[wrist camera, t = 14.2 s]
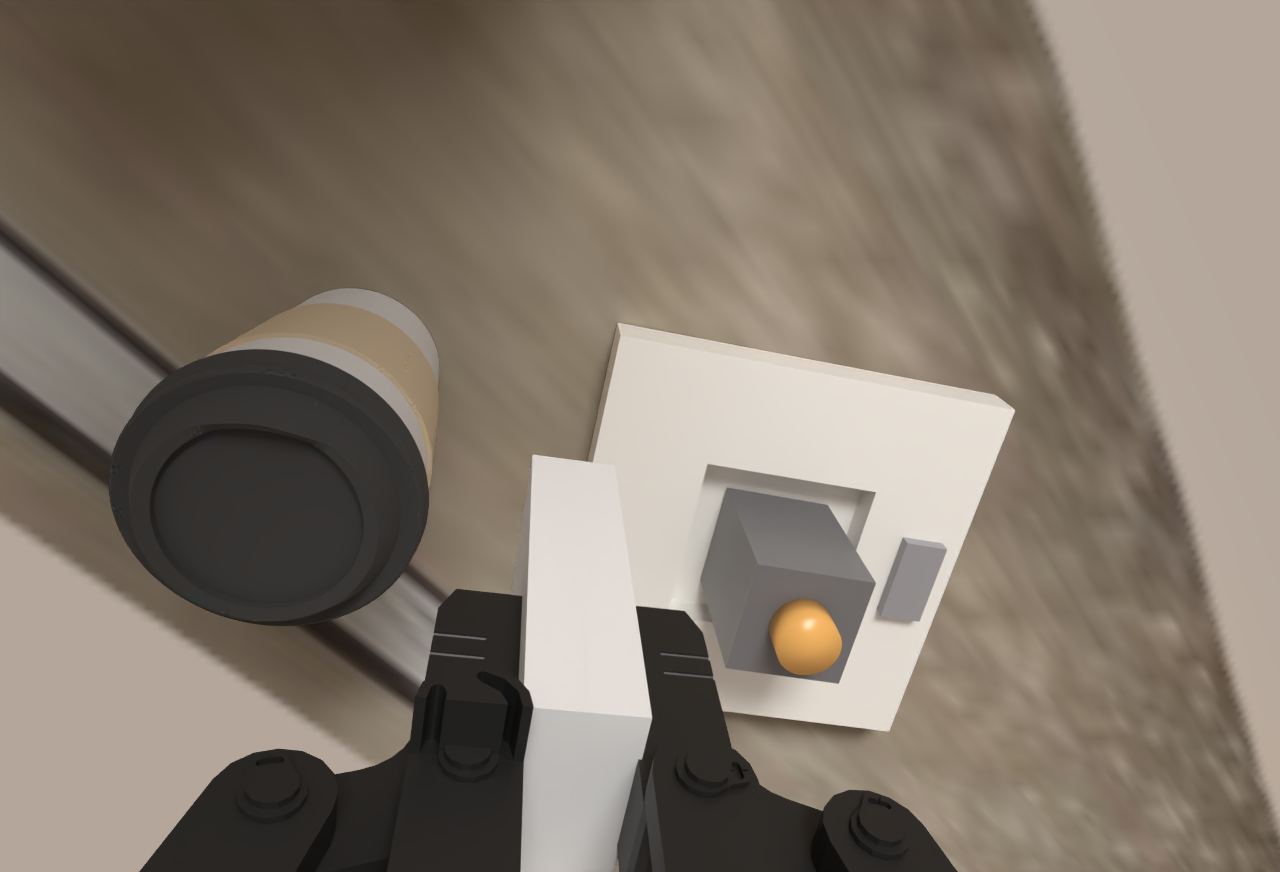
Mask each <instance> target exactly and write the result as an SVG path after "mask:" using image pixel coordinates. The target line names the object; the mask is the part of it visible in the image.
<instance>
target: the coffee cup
mask: <svg viewBox="0 0 1280 872" xmlns="http://www.w3.org/2000/svg"><path fill="white" fill-rule="evenodd" d="M439 372H440V367H439V358H438V353H437V349H436V346H435V344H434V341H433V339H432V337H431V335H430V333H429V332H428V330H427V328H426V327H425V326H424V324H423V323H422V322H421V321H420V319H419V318H418V317H417V316H416V315H415V314H414V313H413V312H411V311H410V310H409V309H408V308H407V307H405V306H404V305H402V304H401V303H399V302H398V301H396V300H394V299H392V298H390V297H388V296H386V295H383V294H380V293H377V292H374V291H370V290H365V289H357V288H343V289H335V290H330V291H326V292H323V293H320V294H317V295H315V296H313V297H311V298H309V299H307V300H306V301H304V302H302V303H301V304H299V305H298V306H296V307H294V308H292V309H289V310H286V311H284V312H282V313H279V314H277V315H276V316H274V317H272V318H270V319H268V320H267V321H265V322H263V323H262V324H260V325H258V326H256V327H255V328H253V329H251V330H249V331H248V332H246V333H244V334H242V335H241V336H239V337H237V338H235V339H234V340H232V341H230V342H229V343H227V344H225V345H223V346H222V347H220V348H218V349H216V350H215V351H213V352H211V353H210V354H208V355H207V356H206V357H204V358H202V359H199V360H197V361H195V362H192V363H190V364H188V365H186V366H184V367H182V368H180V369H178V370H177V371H175V372H174V373H172V374H171V375H169V376H168V377H166V378H165V379H164V380H163V381H161V382H160V383H159V384H158V385H157V386H155V387H154V388H153V389H152V390H151V391H150V392H149V393H148V395H147V396H146V397H145V398H144V399H143V401H142V402H141V403H140V405H139V406H138V407H137V409H136V411H135V412H134V414H133V416H132V417H131V419H130V420H129V422H128V423H127V424H126V426H125V427H124V429H123V431H122V433H121V434H120V436H119V438H118V440H117V443H116V445H115V448H114V451H113V454H112V458H111V463H110V469H109V496H110V502H111V507H112V511H113V514H114V517H115V520H116V523H117V525H118V528H119V530H120V532H121V534H122V536H123V538H124V540H125V541H126V543H127V545H128V546H129V548H130V549H131V551H132V552H133V554H134V555H135V556H136V558H137V559H138V560H139V561H140V563H141V564H142V565H143V566H144V567H145V568H146V569H147V570H148V571H149V572H150V573H151V574H152V575H153V576H154V577H155V578H156V579H157V580H159V581H160V582H161V583H162V584H163V585H165V586H166V587H167V588H169V589H170V590H171V591H173V592H174V593H176V594H177V595H179V596H180V597H182V598H184V599H185V600H187V601H189V602H191V603H193V604H195V605H197V606H199V607H201V608H203V609H205V610H207V611H210V612H212V613H215V614H218V615H221V616H224V617H227V618H230V619H234V620H238V621H242V622H247V623H253V624H260V625H270V626H297V625H307V624H314V623H319V622H324V621H328V620H332V619H335V618H338V617H341V616H344V615H347V614H349V613H351V612H354V611H356V610H358V609H360V608H362V607H363V606H365V605H367V604H369V603H370V602H372V601H373V600H375V599H376V598H378V597H379V596H380V595H382V594H383V593H384V592H385V591H386V590H387V589H388V588H390V587H391V586H392V585H393V584H394V582H395V581H396V580H397V579H398V578H399V577H400V575H401V574H402V573H403V571H404V570H405V569H406V567H407V565H408V564H409V562H410V560H411V558H412V556H413V555H414V553H415V551H416V549H417V547H418V545H419V543H420V541H421V538H422V535H423V533H424V529H425V526H426V521H427V516H428V508H429V486H430V481H431V474H432V466H433V457H434V449H435V441H436V432H437V424H438V415H439V393H438V382H439Z"/></svg>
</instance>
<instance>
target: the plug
mask: <svg viewBox="0 0 1280 872" xmlns="http://www.w3.org/2000/svg"><path fill="white" fill-rule="evenodd" d="M700 580H701V584H702V587H703V591H704V594H705V598H706V601H707V605H708V608H709V612H710V615H711V619H712V622H713V626H714V629H715V633H716V636H717V640H718V643H719V647H720V650H721V654H722V657H723V661H724V664H725V668H727V669H735V670H742V671H749V672H756V673H764V674H771V675H778V676H785V677H793V678H800V679H807V680H814V681H822V682H829V683H836V684H839V682H840V679H841V677H842V674H843V671H844V668H845V666H846V663H847V660H848V658H849V655H850V652H851V650H852V647H853V644H854V641H855V639H856V636H857V633H858V631H859V628H860V625H861V622H862V620H863V617H864V614H865V612H866V609H867V606H868V604H869V601H870V598H871V595H872V593H873V590H874V587H875V585H876V582H875V580H874V579H873V577H872V576H871V574H870V572H869V571H868V569H867V568H866V566H865V564H864V563H863V561H862V559H861V558H860V556H859V555H858V553H857V551H856V550H855V548H854V547H853V545H852V543H851V542H850V540H849V539H848V537H847V535H846V534H845V532H844V530H843V529H842V527H841V526H840V524H839V522H838V521H837V519H836V518H835V516H834V514H833V513H832V511H831V509H830V508H829V506H828V505H826V504H820V503H814V502H808V501H802V500H797V499H791V498H785V497H779V496H773V495H768V494H762V493H756V492H750V491H744V490H739V489H733V488H727V489H726V492H725V496H724V499H723V502H722V506H721V509H720V513H719V516H718V520H717V523H716V527H715V530H714V534H713V537H712V541H711V544H710V547H709V551H708V554H707V558H706V561H705V565H704V568H703V572H702V575H701V579H700Z"/></svg>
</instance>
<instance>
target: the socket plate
mask: <svg viewBox="0 0 1280 872" xmlns="http://www.w3.org/2000/svg"><path fill="white" fill-rule="evenodd" d="M1014 412H1015V410H1014V409H1013V408H1012V407H1011V406H1009V405H1008V404H1007V403H1005V402H1004V401H1003V400H1001V399H1000V398H999V397H997V396H996V395H993V394H988V393H983V392H977V391H972V390H967V389H962V388H957V387H951V386H946V385H941V384H936V383H930V382H925V381H920V380H915V379H910V378H904V377H899V376H894V375H889V374H883V373H878V372H873V371H868V370H863V369H857V368H852V367H847V366H842V365H836V364H831V363H826V362H821V361H816V360H810V359H805V358H800V357H795V356H789V355H784V354H779V353H774V352H769V351H763V350H758V349H753V348H748V347H742V346H737V345H732V344H727V343H722V342H716V341H711V340H706V339H701V338H695V337H690V336H685V335H680V334H675V333H669V332H664V331H659V330H654V329H648V328H643V327H638V326H633V325H628V324H622V323H617V327H616V332H615V336H614V341H613V345H612V350H611V355H610V359H609V364H608V368H607V373H606V378H605V382H604V387H603V392H602V396H601V401H600V405H599V410H598V415H597V419H596V424H595V428H594V433H593V438H592V442H591V447H590V452H589V456H588V461H587V462H593V463H600V464H608V465H615V469H616V476H617V482H618V489H619V496H620V503H621V510H622V516H623V523H624V530H625V537H626V543H627V550H628V557H629V564H630V571H631V577H632V584H633V591H634V598H635V604H636V606H643V607H652V608H662V609H671V610H681V611H685V612H686V613H687V614H688V615H689V616H690V618H691V619H692V620H693V621H694V623H695V624H696V625H697V626H698V627H699V629H700V630H701V631H702V632H703V635H704V639H705V643H706V647H707V651H708V655H709V657H708V660H710V663H711V667H712V671H713V680H715V683H716V687H717V691H718V695H719V699H720V703H721V707H722V711H727V712H735V713H743V714H751V715H759V716H767V717H775V718H784V719H792V720H800V721H808V722H816V723H824V724H832V725H841V726H849V727H857V728H865V729H873V730H881V731H889V730H890V727H891V725H892V722H893V720H894V717H895V715H896V712H897V710H898V707H899V705H900V702H901V700H902V697H903V694H904V692H905V689H906V687H907V684H908V682H909V679H910V677H911V674H912V672H913V669H914V666H915V664H916V661H917V659H918V656H919V654H920V651H921V649H922V646H923V644H924V641H925V638H926V636H927V633H928V631H929V628H930V626H931V623H932V621H933V618H934V616H935V613H936V610H937V608H938V605H939V603H940V600H941V598H942V595H943V593H944V590H945V588H946V585H947V583H948V580H949V577H950V575H951V572H952V570H953V567H954V565H955V562H956V560H957V557H958V555H959V552H960V549H961V547H962V544H963V542H964V539H965V537H966V534H967V532H968V529H969V527H970V524H971V521H972V519H973V516H974V514H975V511H976V509H977V506H978V504H979V501H980V499H981V496H982V493H983V491H984V488H985V486H986V483H987V481H988V478H989V476H990V473H991V471H992V468H993V466H994V463H995V460H996V458H997V455H998V453H999V450H1000V448H1001V445H1002V443H1003V440H1004V438H1005V435H1006V432H1007V430H1008V427H1009V425H1010V422H1011V420H1012V417H1013V415H1014ZM727 488H733V489H739V490H744V491H750V492H756V493H762V494H768V495H773V496H779V497H785V498H791V499H797V500H802V501H808V502H814V503H820V504H826V505H828V506H829V508H830V509H831V511H832V513H833V514H834V516H835V518H836V519H837V521H838V522H839V524H840V526H841V527H842V529H843V530H844V532H845V534H846V535H847V537H848V539H849V540H850V542H851V543H852V545H853V547H854V548H855V550H856V551H857V553H858V555H859V556H860V558H861V559H862V561H863V563H864V564H865V566H866V568H867V569H868V571H869V572H870V574H871V576H872V577H873V579H874V580H875V582H876V585H875V587H874V590H873V593H872V595H871V598H870V601H869V604H868V606H867V609H866V612H865V614H864V617H863V620H862V622H861V625H860V628H859V631H858V633H857V636H856V639H855V641H854V644H853V647H852V650H851V652H850V655H849V658H848V660H847V663H846V666H845V668H844V671H843V674H842V677H841V679H840V682H839V684H836V683H829V682H822V681H814V680H807V679H800V678H793V677H785V676H778V675H771V674H764V673H756V672H749V671H742V670H735V669H727V668H725V664H724V661H723V657H722V654H721V650H720V647H719V643H718V640H717V636H716V633H715V629H714V626H713V622H712V619H711V615H710V612H709V608H708V605H707V601H706V598H705V594H704V591H703V587H702V584H701V580H700V579H701V575H702V572H703V568H704V565H705V561H706V558H707V554H708V551H709V547H710V544H711V541H712V537H713V534H714V530H715V527H716V523H717V520H718V516H719V513H720V509H721V506H722V502H723V499H724V496H725V492H726V489H727Z"/></svg>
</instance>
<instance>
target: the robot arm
mask: <svg viewBox="0 0 1280 872" xmlns="http://www.w3.org/2000/svg"><path fill="white" fill-rule="evenodd" d="M708 657H709V655H708V651H707V647H706V643H705V639H704V635H703V632H702V631H701V630H700V629H699V627H698V626H697V625H696V624H695V623H694V621H693V620H692V619H691V618H690V616H689V615H688V614H687V613H686V612H685V611H681V610H671V609H662V608H652V607H643V606H636V604H635V598H634V591H633V584H632V577H631V571H630V564H629V557H628V550H627V543H626V537H625V530H624V523H623V516H622V510H621V503H620V496H619V489H618V482H617V476H616V469H615V465H608V464H600V463H593V462H585V461H577V460H570V459H562V458H554V457H547V456H539V455H532V461H531V468H530V474H529V480H528V487H527V493H526V499H525V506H524V512H523V518H522V525H521V531H520V537H519V544H518V550H517V556H516V563H515V569H514V575H513V582H512V595H508V594H499V593H490V592H480V591H471V590H461V589H456V590H455V591H454V592H453V593H452V594H451V595H450V596H449V597H448V598H447V599H446V600H445V601H444V603H443V604H442V605H441V606H440V607H439V608H438V613H437V618H436V624H435V629H434V635H433V640H432V645H431V651H430V656H429V661H428V667H427V672H426V677H425V681H423V682H422V684H421V686H420V688H419V690H418V692H417V694H416V696H415V703H414V711H413V720H412V729H411V738H410V741H409V742H408V743H407V744H406V746H405V747H404V748H403V749H402V750H401V751H399V752H398V753H397V754H396V755H394V756H393V757H392V758H390V759H388V760H386V761H384V762H382V763H380V764H378V765H375V766H372V767H368V768H364V769H361V770H357V771H352V772H345V773H340V774H334V773H333V772H332V771H331V770H330V769H329V767H328V766H327V765H326V764H325V763H324V762H323V761H322V760H321V759H319V758H316V757H314V756H312V755H310V754H307V753H305V752H303V751H296V750H286V749H274V750H268V751H262V752H256V753H252V754H250V755H248V756H246V757H244V758H242V759H239V760H237V761H235V762H233V763H231V764H229V766H227V767H226V768H225V769H224V770H223V771H221V772H220V773H219V774H218V775H217V776H216V777H215V778H214V779H213V780H212V781H211V782H210V783H209V785H208V786H207V787H206V789H205V790H204V791H203V792H202V794H201V795H200V796H199V797H198V799H197V800H196V801H195V802H194V804H193V805H192V806H191V807H190V809H189V810H188V811H187V812H186V814H185V815H184V816H183V818H182V819H181V820H180V821H179V823H178V824H177V825H176V826H175V828H174V829H173V830H172V831H171V833H170V834H169V835H168V836H167V838H166V839H165V840H164V841H163V843H162V844H161V845H160V847H159V848H158V849H157V850H156V851H155V853H154V854H153V855H152V856H151V858H150V859H149V860H148V862H147V863H146V864H145V865H144V866H143V868H142V869H141V870H140V872H614V870H615V866H616V862H617V858H618V862H619V872H957V870H956V869H955V868H954V866H953V865H952V864H951V862H950V861H949V859H948V858H947V857H946V855H945V854H944V853H943V851H942V850H941V848H940V847H939V846H938V844H937V843H936V842H935V840H934V839H933V837H932V836H931V835H930V833H929V832H928V831H927V829H926V828H925V826H924V825H923V824H922V823H921V822H920V821H919V820H918V819H917V818H916V817H915V816H914V815H913V814H912V813H911V812H910V811H909V810H908V809H906V808H905V807H903V806H902V805H900V804H899V803H897V802H895V801H894V800H892V799H891V798H889V797H886V796H883V795H880V794H877V793H874V792H871V791H863V790H848V791H845V792H842V793H839V794H836V795H834V796H833V797H832V798H831V799H830V801H829V802H828V803H827V804H826V805H825V807H824V810H823V811H821V810H818V809H815V808H812V807H809V806H806V805H803V804H800V803H797V802H794V801H791V800H788V799H786V798H783V797H781V796H779V795H777V794H774V793H772V792H770V791H769V790H767V789H766V788H764V787H762V786H761V785H759V782H758V779H757V777H756V775H755V773H754V771H753V769H752V767H751V765H750V763H749V762H747V761H746V760H745V759H744V758H743V757H742V756H741V755H740V754H739V753H738V752H737V751H736V750H734V749H732V747H731V743H730V739H729V735H728V731H727V727H726V723H725V719H724V715H723V711H722V707H721V703H720V699H719V695H718V691H717V687H716V683H715V680H713V671H712V667H711V663H710V660H708Z"/></svg>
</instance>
